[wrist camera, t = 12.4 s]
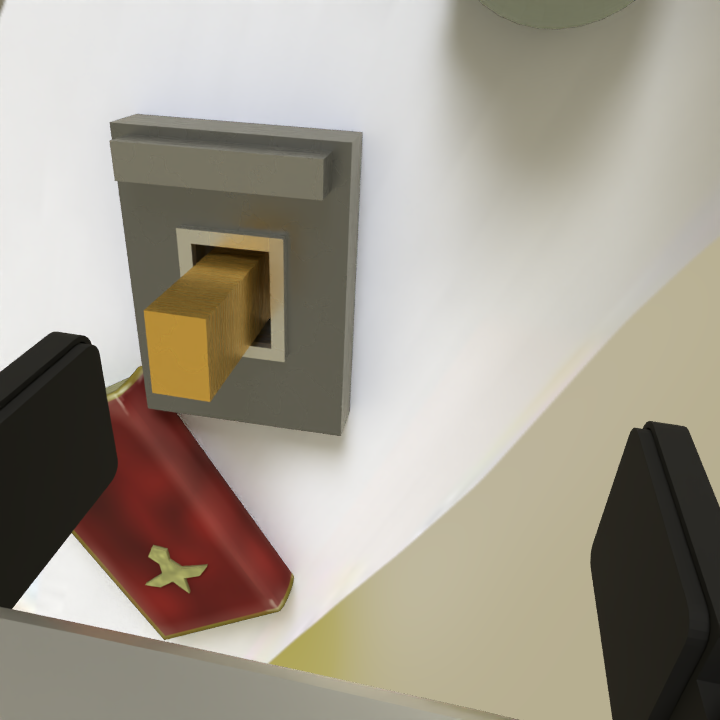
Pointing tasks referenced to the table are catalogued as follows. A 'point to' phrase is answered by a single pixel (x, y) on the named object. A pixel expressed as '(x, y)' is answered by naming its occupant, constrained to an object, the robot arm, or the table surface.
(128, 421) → the hardcover book
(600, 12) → the air freshener
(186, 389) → the brass peg in socket
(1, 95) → the table surface
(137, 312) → the grey box with slot
